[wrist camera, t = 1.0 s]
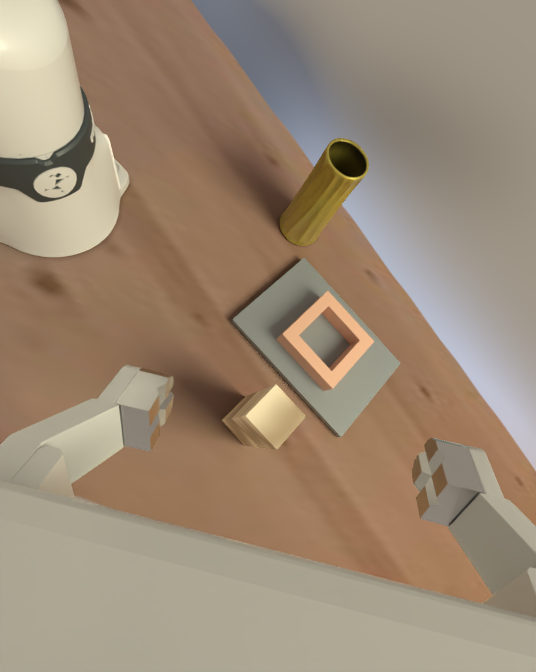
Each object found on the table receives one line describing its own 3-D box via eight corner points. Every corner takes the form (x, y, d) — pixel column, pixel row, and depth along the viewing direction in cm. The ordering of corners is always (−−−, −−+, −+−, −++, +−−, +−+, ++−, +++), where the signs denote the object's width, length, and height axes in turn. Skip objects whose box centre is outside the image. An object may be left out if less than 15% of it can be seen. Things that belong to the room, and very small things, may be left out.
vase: (292, 201, 53) (338, 124, 40) (325, 226, 54) (381, 159, 41) (271, 228, 51) (312, 157, 38) (306, 254, 51) (358, 193, 38)
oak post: (221, 420, 42) (245, 415, 31) (244, 396, 44) (276, 384, 33) (244, 445, 42) (276, 449, 31) (267, 420, 44) (306, 416, 33)
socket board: (230, 321, 46) (236, 313, 42) (301, 260, 51) (311, 248, 48) (337, 437, 46) (351, 437, 43) (396, 364, 51) (412, 359, 48)
